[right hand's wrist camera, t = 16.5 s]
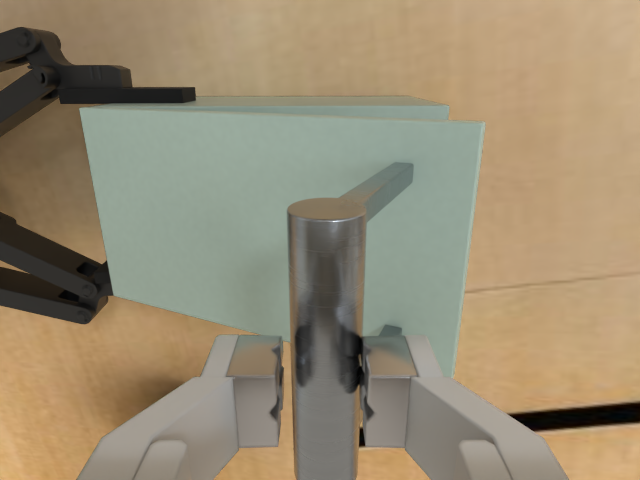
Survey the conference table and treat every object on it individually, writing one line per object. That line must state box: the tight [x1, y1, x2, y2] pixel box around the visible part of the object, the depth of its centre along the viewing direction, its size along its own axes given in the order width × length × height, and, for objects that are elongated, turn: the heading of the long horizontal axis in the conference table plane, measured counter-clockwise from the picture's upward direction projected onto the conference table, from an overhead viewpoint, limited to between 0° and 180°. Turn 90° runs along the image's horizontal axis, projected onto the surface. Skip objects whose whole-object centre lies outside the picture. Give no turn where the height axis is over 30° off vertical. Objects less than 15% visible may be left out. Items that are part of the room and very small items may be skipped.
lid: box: [79, 107, 486, 480], centre depth 16 cm, size 18×10×8 cm, turn 90°
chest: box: [92, 96, 449, 120], centre depth 28 cm, size 18×10×10 cm, turn 90°
